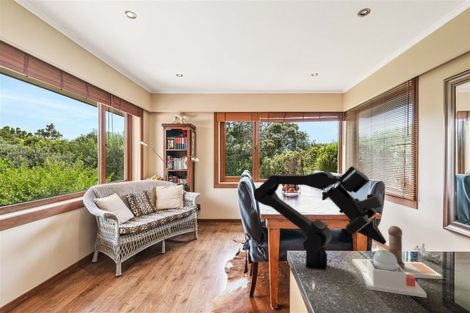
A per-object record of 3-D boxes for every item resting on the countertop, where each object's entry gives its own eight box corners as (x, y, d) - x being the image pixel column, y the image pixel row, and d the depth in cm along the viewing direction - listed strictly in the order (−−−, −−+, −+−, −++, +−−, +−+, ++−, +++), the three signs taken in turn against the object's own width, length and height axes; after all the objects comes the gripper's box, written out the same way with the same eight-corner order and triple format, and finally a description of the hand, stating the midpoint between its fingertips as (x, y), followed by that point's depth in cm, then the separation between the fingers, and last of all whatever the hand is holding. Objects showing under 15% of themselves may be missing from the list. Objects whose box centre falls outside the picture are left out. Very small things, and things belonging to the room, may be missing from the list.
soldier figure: (430, 257, 94) (454, 259, 83) (423, 266, 93) (446, 269, 82) (412, 241, 96) (433, 241, 85) (405, 250, 95) (425, 251, 84)
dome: (376, 273, 69) (376, 252, 69) (371, 265, 75) (371, 245, 75) (400, 276, 67) (400, 255, 67) (393, 267, 73) (393, 248, 73)
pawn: (391, 268, 78) (390, 227, 79) (383, 262, 83) (383, 223, 84) (408, 269, 78) (407, 228, 78) (399, 262, 83) (399, 224, 83)
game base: (368, 289, 68) (367, 269, 68) (361, 274, 77) (361, 257, 77) (426, 297, 64) (426, 276, 64) (413, 281, 73) (412, 263, 73)
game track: (363, 274, 77) (363, 271, 77) (352, 261, 87) (352, 258, 87) (442, 279, 74) (442, 275, 74) (421, 265, 84) (421, 262, 84)
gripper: (357, 188, 68) (406, 235, 60) (369, 183, 82) (410, 220, 75) (329, 212, 72) (371, 258, 65) (345, 204, 87) (381, 241, 80)
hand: (385, 243), depth 71 cm, fingers closed
